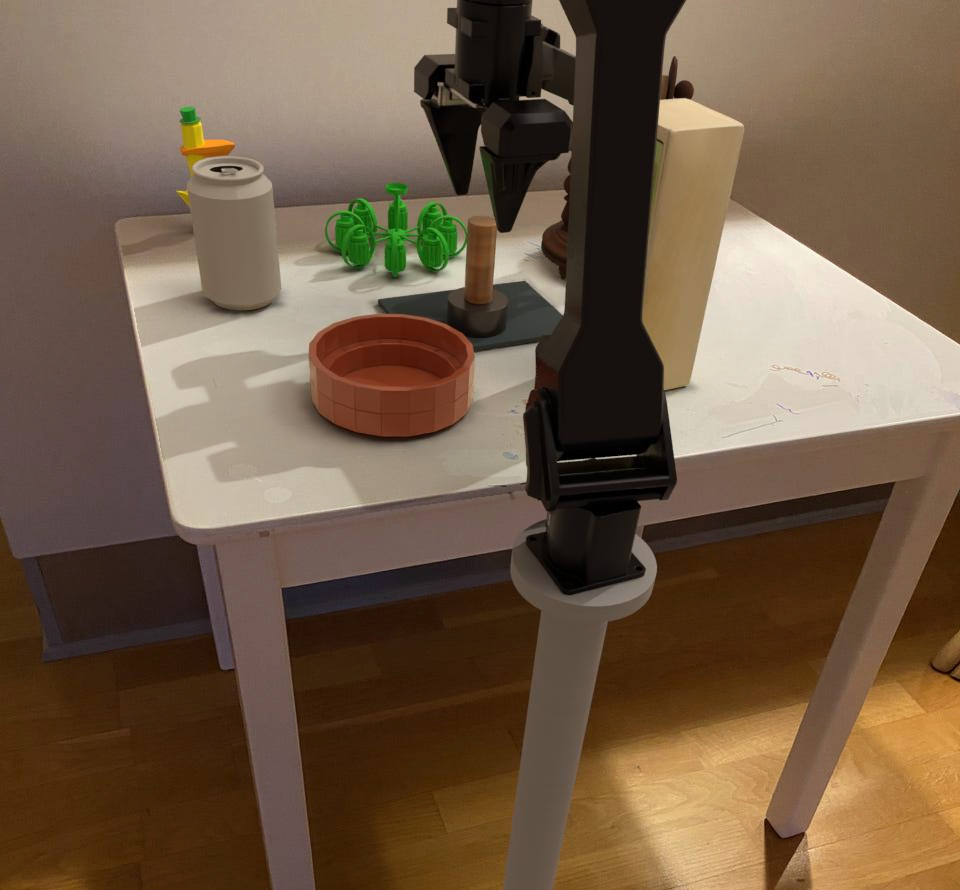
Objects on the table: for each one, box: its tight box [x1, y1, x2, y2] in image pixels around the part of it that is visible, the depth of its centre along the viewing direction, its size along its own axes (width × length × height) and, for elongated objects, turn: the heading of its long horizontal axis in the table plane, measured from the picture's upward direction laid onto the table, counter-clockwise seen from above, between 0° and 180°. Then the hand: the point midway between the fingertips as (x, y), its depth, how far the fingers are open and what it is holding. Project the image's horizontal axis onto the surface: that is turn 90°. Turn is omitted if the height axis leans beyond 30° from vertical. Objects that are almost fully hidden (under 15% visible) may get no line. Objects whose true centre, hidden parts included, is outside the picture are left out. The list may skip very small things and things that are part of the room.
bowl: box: [308, 313, 476, 437], centre depth 77 cm, size 13×13×4 cm
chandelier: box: [324, 182, 467, 278], centre depth 98 cm, size 15×15×7 cm
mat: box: [377, 280, 563, 352], centre depth 90 cm, size 12×16×1 cm
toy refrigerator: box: [642, 98, 745, 391], centre depth 77 cm, size 8×7×21 cm
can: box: [186, 155, 283, 311], centre depth 87 cm, size 8×8×12 cm
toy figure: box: [175, 106, 236, 209], centre depth 99 cm, size 7×4×12 cm, turn 116°
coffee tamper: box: [447, 215, 508, 338], centre depth 85 cm, size 6×6×10 cm
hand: (482, 212), depth 81 cm, fingers open, 9 cm apart
